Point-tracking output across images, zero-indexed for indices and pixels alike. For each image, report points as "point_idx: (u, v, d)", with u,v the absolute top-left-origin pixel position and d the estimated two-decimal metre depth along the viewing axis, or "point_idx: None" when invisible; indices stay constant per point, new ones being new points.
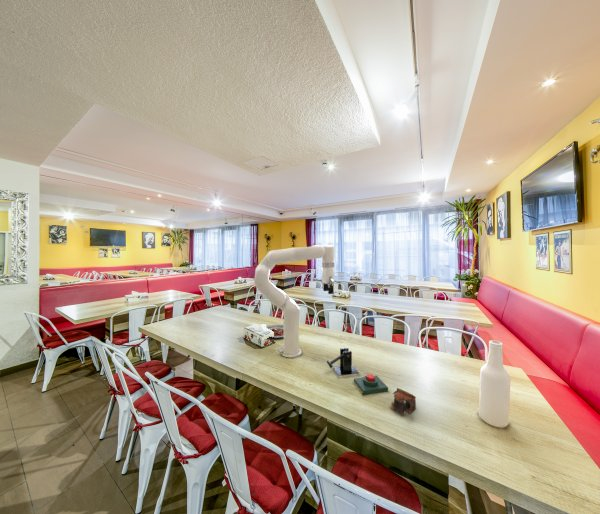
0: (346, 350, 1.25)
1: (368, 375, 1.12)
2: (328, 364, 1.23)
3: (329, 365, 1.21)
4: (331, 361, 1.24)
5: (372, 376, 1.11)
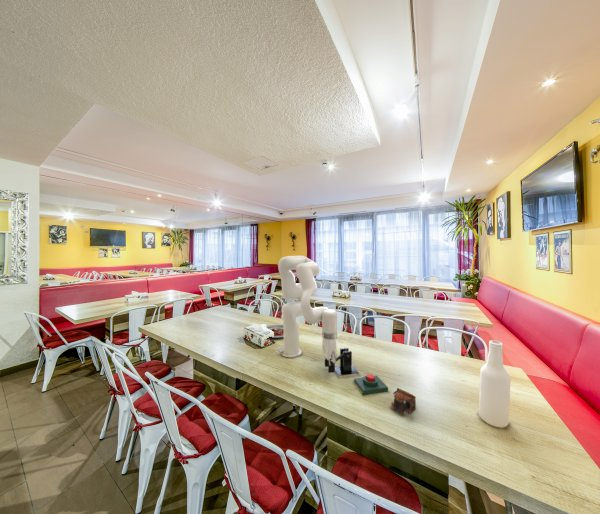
0: (346, 350, 1.25)
1: (368, 375, 1.12)
2: (328, 364, 1.23)
3: None
4: None
5: (372, 376, 1.11)
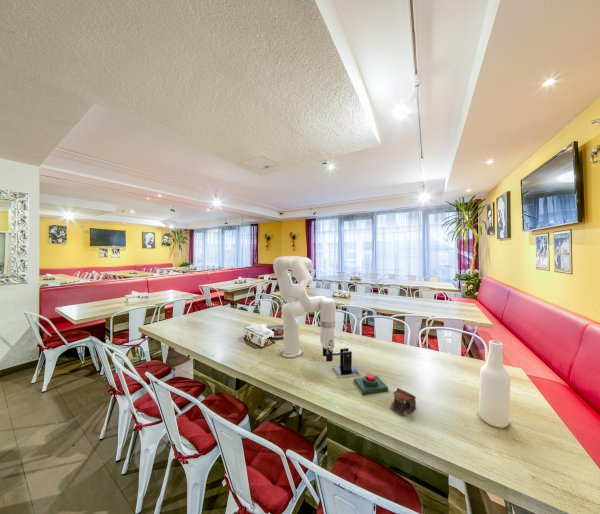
0: None
1: (368, 375, 1.12)
2: (326, 353, 1.22)
3: None
4: None
5: (372, 376, 1.11)
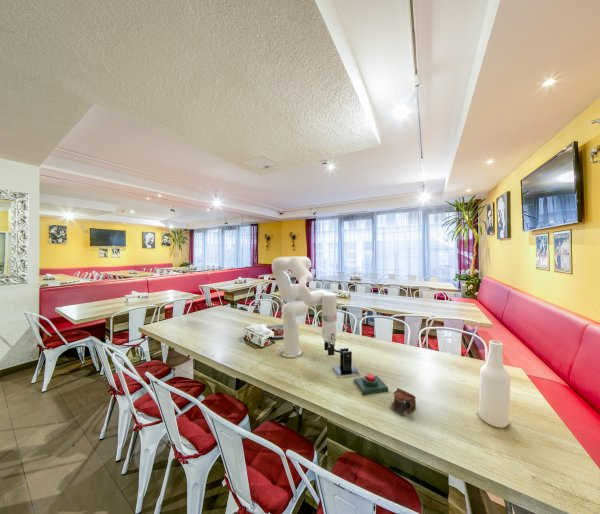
0: None
1: (368, 375, 1.12)
2: None
3: None
4: None
5: (372, 376, 1.11)
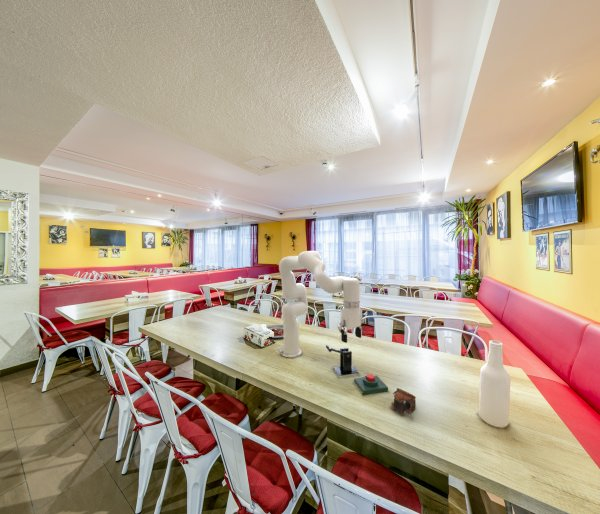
0: None
1: (368, 375, 1.12)
2: (328, 347, 1.22)
3: (329, 348, 1.21)
4: (331, 348, 1.23)
5: (372, 376, 1.11)
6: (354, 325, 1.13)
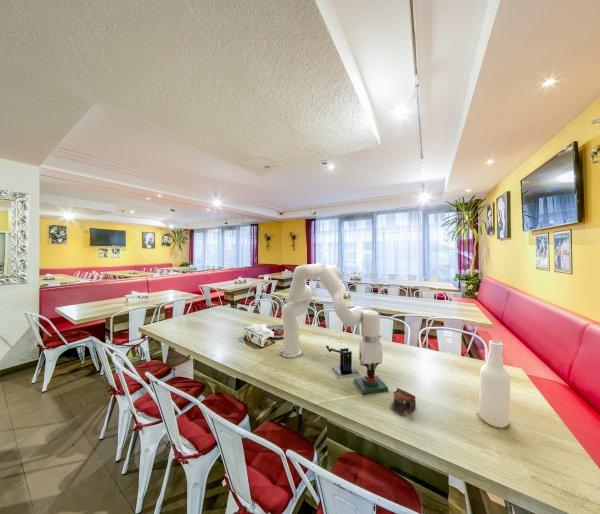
0: None
1: None
2: (328, 347, 1.22)
3: (329, 348, 1.21)
4: (331, 348, 1.23)
5: None
6: (372, 360, 1.09)
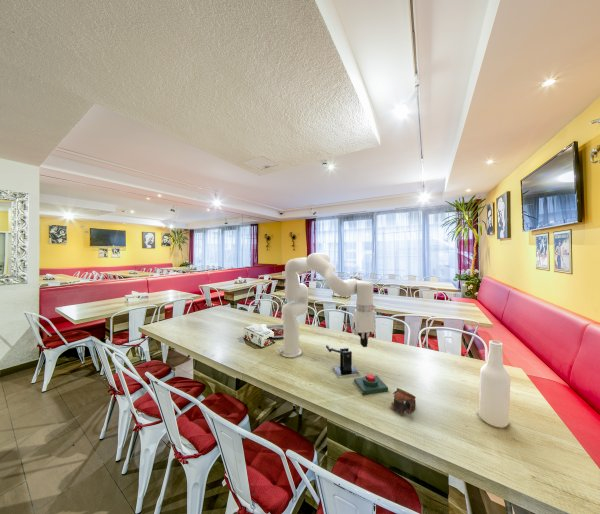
0: None
1: (368, 375, 1.12)
2: (328, 347, 1.22)
3: (329, 348, 1.21)
4: (331, 348, 1.23)
5: (372, 376, 1.11)
6: (365, 329, 1.11)
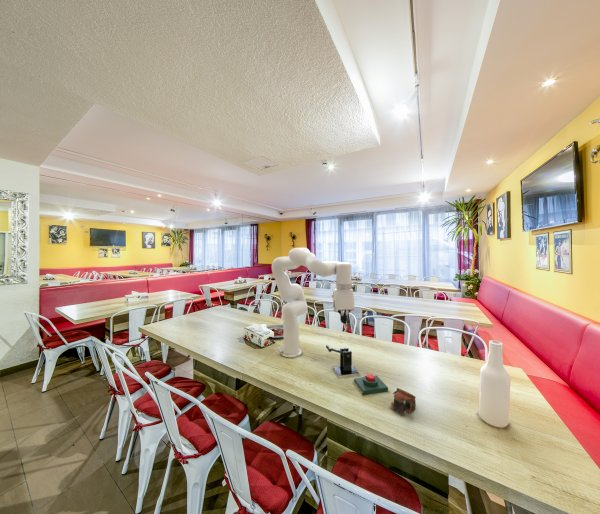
0: None
1: (368, 375, 1.12)
2: (328, 347, 1.22)
3: (329, 348, 1.21)
4: (331, 348, 1.23)
5: (372, 376, 1.11)
6: (344, 306, 1.19)
